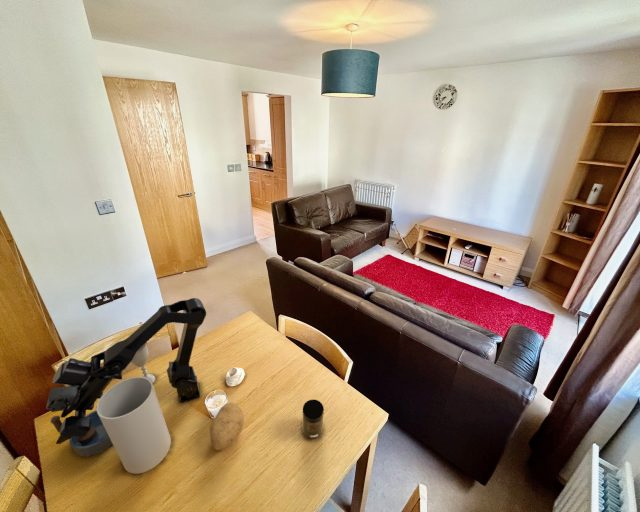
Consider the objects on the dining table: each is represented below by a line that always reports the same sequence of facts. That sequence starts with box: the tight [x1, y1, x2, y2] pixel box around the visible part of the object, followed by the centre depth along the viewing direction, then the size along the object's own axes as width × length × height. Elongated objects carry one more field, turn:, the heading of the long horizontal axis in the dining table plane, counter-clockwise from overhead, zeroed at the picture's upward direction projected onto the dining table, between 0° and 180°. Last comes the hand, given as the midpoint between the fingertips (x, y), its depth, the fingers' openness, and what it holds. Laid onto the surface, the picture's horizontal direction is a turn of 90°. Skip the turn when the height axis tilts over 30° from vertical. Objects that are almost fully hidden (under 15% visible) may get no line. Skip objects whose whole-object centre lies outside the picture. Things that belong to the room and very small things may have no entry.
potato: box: [209, 402, 244, 451], centre depth 87 cm, size 10×14×8 cm
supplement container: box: [302, 399, 325, 440], centre depth 88 cm, size 7×7×10 cm
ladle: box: [50, 415, 96, 443], centre depth 82 cm, size 8×4×12 cm, turn 117°
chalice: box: [130, 341, 156, 384], centre depth 102 cm, size 7×7×18 cm
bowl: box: [68, 409, 113, 457], centre depth 86 cm, size 13×13×4 cm
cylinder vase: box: [96, 376, 172, 475], centre depth 78 cm, size 12×12×25 cm
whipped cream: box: [225, 366, 246, 387], centre depth 106 cm, size 8×7×5 cm
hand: (60, 429), depth 80 cm, fingers open, 9 cm apart
